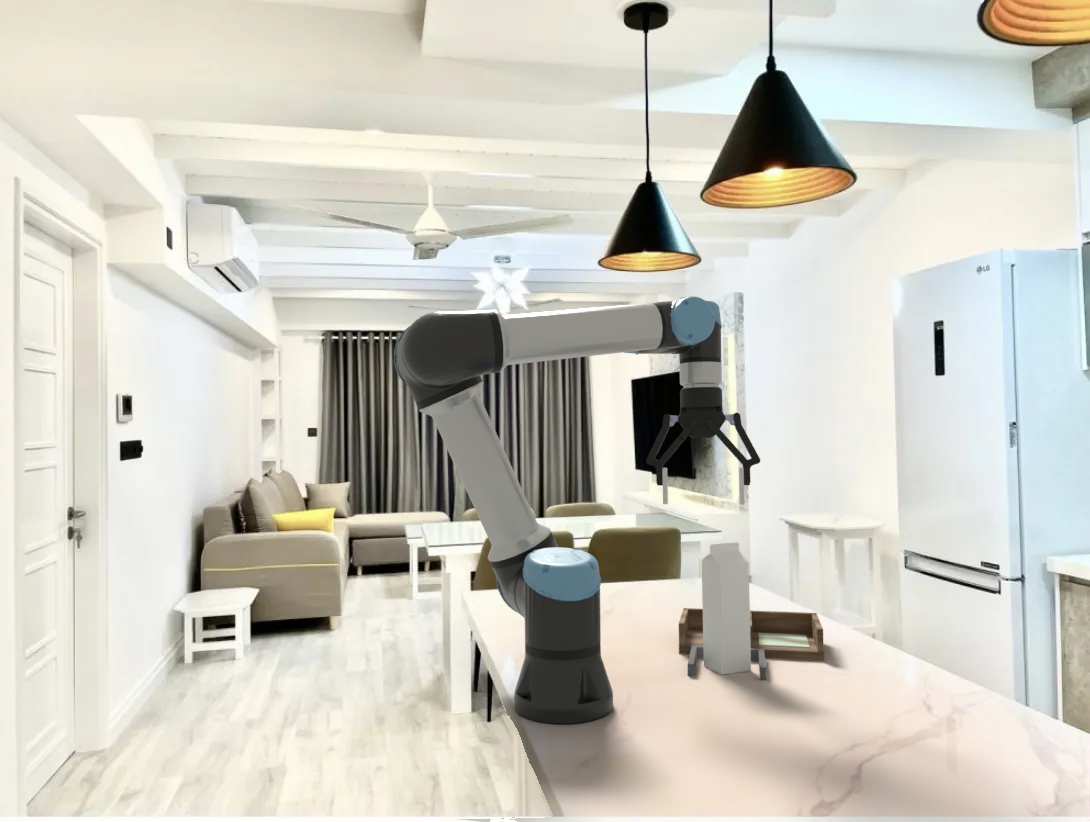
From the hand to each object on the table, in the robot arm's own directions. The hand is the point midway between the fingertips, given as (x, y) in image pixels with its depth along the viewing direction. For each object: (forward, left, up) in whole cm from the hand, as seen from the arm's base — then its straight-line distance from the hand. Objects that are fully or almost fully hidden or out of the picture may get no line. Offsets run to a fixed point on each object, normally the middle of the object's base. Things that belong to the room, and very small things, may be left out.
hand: (703, 504), depth 145 cm
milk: (-3, -4, -29) cm, 29 cm away
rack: (+12, -8, -29) cm, 32 cm away
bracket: (-3, -4, -29) cm, 29 cm away
